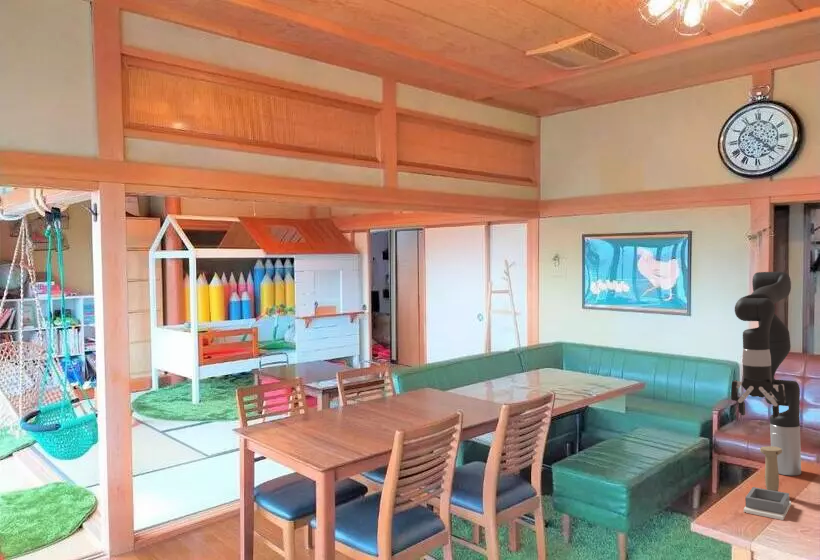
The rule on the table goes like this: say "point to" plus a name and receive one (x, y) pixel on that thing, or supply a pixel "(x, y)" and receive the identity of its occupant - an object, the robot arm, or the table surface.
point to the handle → (771, 466)
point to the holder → (767, 503)
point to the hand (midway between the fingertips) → (758, 416)
